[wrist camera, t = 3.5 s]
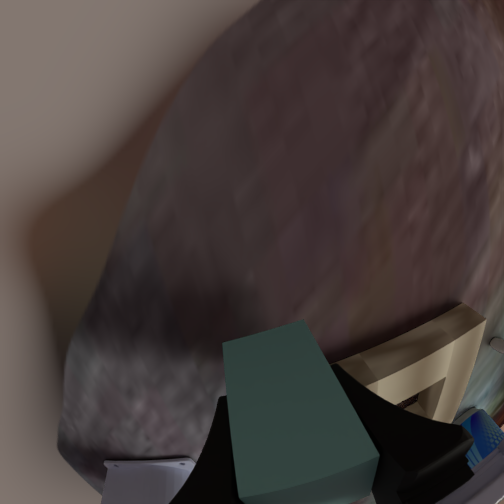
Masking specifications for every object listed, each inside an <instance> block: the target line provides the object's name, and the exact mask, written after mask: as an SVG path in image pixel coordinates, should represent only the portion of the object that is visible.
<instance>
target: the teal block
mask: <svg viewBox="0 0 504 504" xmlns="http://www.w3.org/2000/svg"><path fill="white" fill-rule="evenodd" d="M222 346H223V358H224V370H225V381H226V392H227V402H228V412H229V422H230V431H231V440H232V449H233V457H234V465H235V473H236V481H237V488H238V495H239V499H240V500H241V501H242V502H243V503H244V504H349V503H352V502H354V501H357V500H359V499H362V498H364V497H367V496H369V495H370V492H371V489H372V485H373V481H374V477H375V473H376V469H377V465H378V461H379V456H380V455H379V453H378V451H377V449H376V448H375V446H374V444H373V442H372V440H371V439H370V437H369V435H368V433H367V431H366V430H365V428H364V426H363V424H362V422H361V420H360V419H359V417H358V415H357V413H356V411H355V410H354V408H353V406H352V404H351V403H350V401H349V399H348V397H347V395H346V394H345V392H344V390H343V388H342V386H341V385H340V383H339V381H338V379H337V378H336V376H335V374H334V372H333V370H332V369H331V367H330V365H329V363H328V362H327V360H326V358H325V356H324V355H323V353H322V351H321V349H320V348H319V346H318V344H317V342H316V340H315V339H314V337H313V335H312V333H311V332H310V330H309V328H308V326H307V325H306V323H305V321H304V319H303V320H300V321H297V322H294V323H290V324H287V325H284V326H281V327H277V328H274V329H270V330H267V331H264V332H260V333H257V334H253V335H249V336H246V337H242V338H238V339H235V340H231V341H227V342H223V343H222Z"/></svg>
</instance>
